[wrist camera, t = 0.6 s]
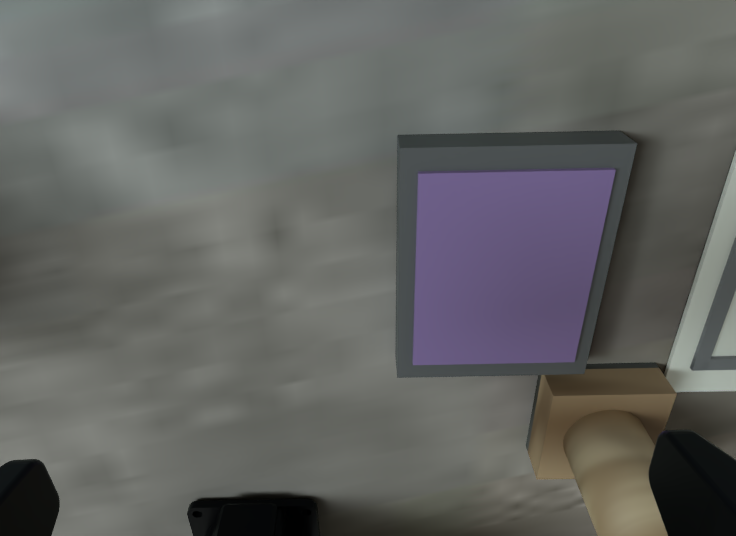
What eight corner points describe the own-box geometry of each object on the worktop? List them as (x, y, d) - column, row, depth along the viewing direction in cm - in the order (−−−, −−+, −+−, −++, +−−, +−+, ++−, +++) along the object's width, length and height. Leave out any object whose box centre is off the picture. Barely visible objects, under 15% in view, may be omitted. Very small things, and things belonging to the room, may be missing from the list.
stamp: (629, 443, 27) (707, 588, 21) (525, 445, 27) (572, 590, 21) (654, 361, 24) (750, 499, 18) (539, 363, 24) (597, 502, 18)
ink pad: (573, 352, 24) (586, 377, 23) (395, 355, 24) (397, 381, 23) (619, 130, 19) (640, 145, 18) (397, 135, 19) (400, 150, 18)
